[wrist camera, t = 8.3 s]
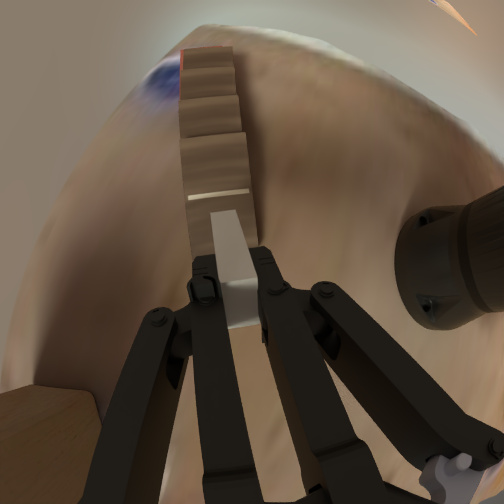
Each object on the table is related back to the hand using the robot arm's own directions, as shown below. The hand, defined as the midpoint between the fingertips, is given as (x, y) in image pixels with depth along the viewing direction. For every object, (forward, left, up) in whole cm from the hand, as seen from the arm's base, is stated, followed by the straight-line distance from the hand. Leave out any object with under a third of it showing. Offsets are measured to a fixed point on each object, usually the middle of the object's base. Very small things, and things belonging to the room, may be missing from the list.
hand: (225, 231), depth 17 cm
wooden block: (+16, +21, -10) cm, 28 cm away
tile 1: (0, 0, -9) cm, 9 cm away
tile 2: (+1, -5, -9) cm, 10 cm away
